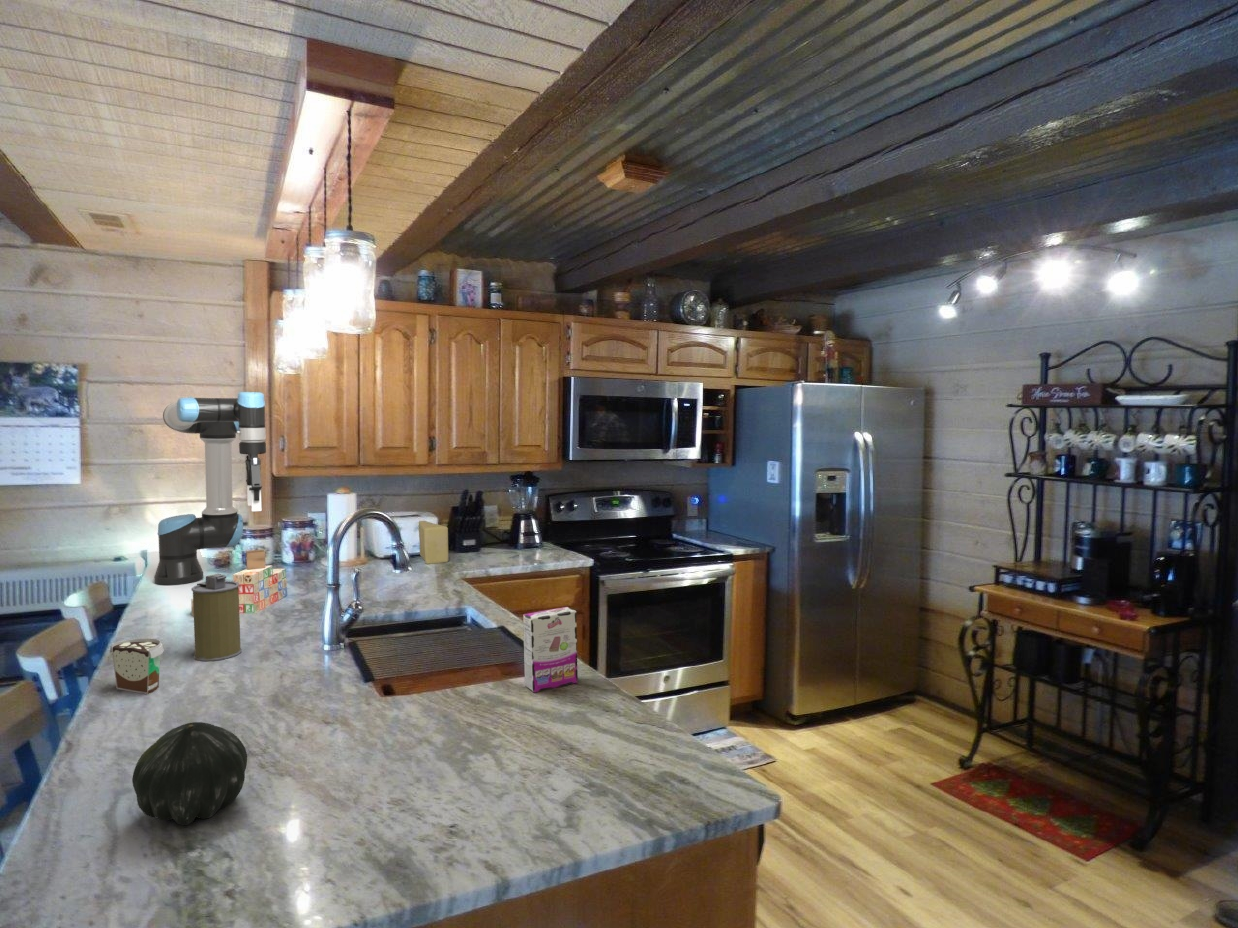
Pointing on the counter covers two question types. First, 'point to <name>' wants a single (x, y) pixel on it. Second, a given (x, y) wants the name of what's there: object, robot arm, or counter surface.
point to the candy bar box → (550, 648)
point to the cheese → (433, 542)
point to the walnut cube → (255, 559)
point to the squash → (190, 773)
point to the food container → (137, 664)
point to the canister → (216, 619)
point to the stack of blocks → (260, 588)
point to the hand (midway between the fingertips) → (254, 508)
